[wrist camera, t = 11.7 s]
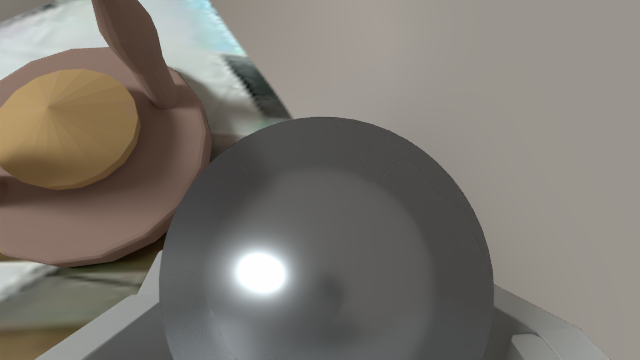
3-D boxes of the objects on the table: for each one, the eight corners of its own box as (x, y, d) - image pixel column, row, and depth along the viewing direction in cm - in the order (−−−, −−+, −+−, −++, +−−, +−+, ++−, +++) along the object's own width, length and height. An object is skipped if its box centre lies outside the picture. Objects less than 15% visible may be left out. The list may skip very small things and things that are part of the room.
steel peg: (302, 373, 14) (366, 571, 3) (230, 307, 15) (80, 284, 4) (360, 294, 16) (547, 243, 5) (292, 235, 16) (311, 67, 5)
